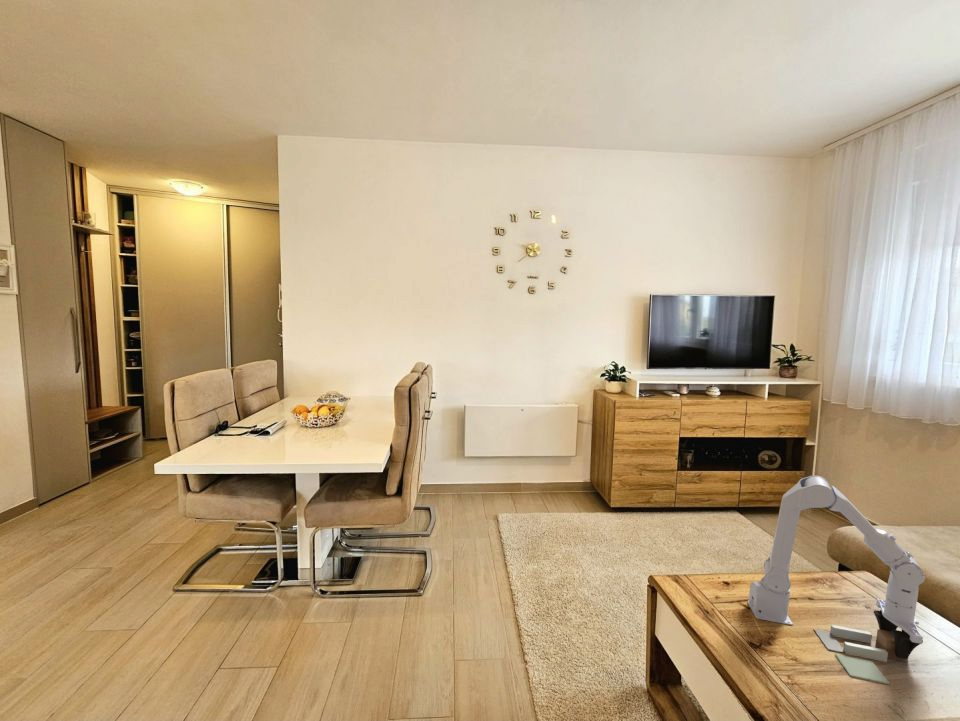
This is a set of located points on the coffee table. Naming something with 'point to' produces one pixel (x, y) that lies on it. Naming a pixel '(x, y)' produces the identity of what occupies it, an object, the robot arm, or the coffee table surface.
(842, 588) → the coffee table surface
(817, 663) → the coffee table surface
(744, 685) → the coffee table surface
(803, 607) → the coffee table surface
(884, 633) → the block
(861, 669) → the pad
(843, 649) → the channel
